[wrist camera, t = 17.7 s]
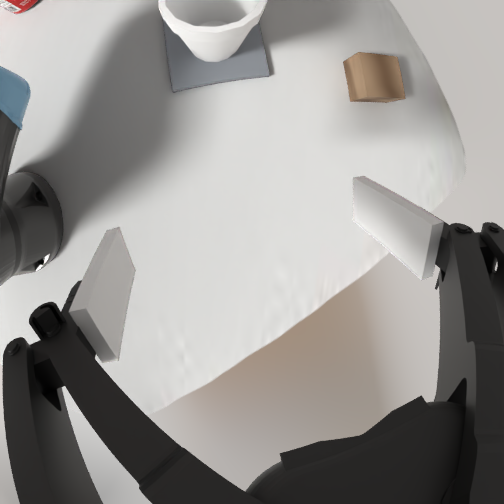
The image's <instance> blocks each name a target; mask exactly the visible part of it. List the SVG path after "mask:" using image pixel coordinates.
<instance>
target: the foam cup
mask: <svg viewBox="0 0 504 504" xmlns="http://www.w3.org/2000/svg"><path fill="white" fill-rule="evenodd" d="M267 1H268V0H159V10H160V13H161V15H162V17H163V19H164V21H165V22H166V23H167V24H168V26H169V27H170V28H171V30H172V31H173V32H174V33H176V34H178V35H179V36H180V38H181V39H182V40H183V41H184V43H185V44H186V45H187V46H188V48H189V49H190V50H191V52H192V53H193V54H194V55H195V57H197V58H199V59H201V60H203V61H206V62H219V61H222V60H225V59H228V58H229V57H230V56H231V55H233V54H234V53H235V52H236V51H237V50H238V48H239V46H240V45H241V43H242V42H243V40H244V39H245V37H246V36H247V34H248V33H249V32H250V30H251V29H252V27H254V26H255V25H256V24H258V21H259V19H260V17H261V15H262V13H263V11H264V9H265V7H266V4H267Z"/></svg>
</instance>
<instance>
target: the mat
mask: <svg viewBox="0 0 504 504" xmlns="http://www.w3.org/2000/svg"><path fill="white" fill-rule="evenodd" d="M163 25H164V33H165V41H166V49H167V56H168V63H169V70H170V77H171V84H172V90H173V92H177V91H182V90H186V89H191V88H196V87H201V86H206V85H212V84H217V83H223V82H230V81H236V80H244V79H252V78H260V77H269V75H270V74H269V69H268V64H267V59H266V54H265V49H264V44H263V40H262V35H261V30H260V26H259V21H258V24H256V25H255V26H254V27H252V29H251V30H250V32H249V33H248V34H247V36H246V37H245V39H244V40H243V42H242V43H241V45H240V46H239V48H238V50H237V51H236V52H235V53H234V54H233V55H231V56H230V57H229V58H228V59H225V60H222V61H219V62H206V61H203V60H201V59H199V58H197V57H195V55H194V54H193V53H192V52H191V50H190V49H189V48H188V46H187V45H186V44H185V43H184V41H183V40H182V39H181V38H180V36H179V35H178V34H176V33H174V32H173V31H172V30H171V28H170V27H169V26H168V24H167V23H166V22H165V21H164V19H163Z"/></svg>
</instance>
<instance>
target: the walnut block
mask: <svg viewBox="0 0 504 504" xmlns="http://www.w3.org/2000/svg"><path fill="white" fill-rule="evenodd" d="M343 63H344V68H345V74H346V79H347V84H348V90H349V96H350V102H385V103H387V102H392V101H396V100H401V99H405V93H404V87H403V82H402V77H401V72H400V67H399V62H398V58H397V57H394V56H388V55H380V54H372V53H362V52H358V53H356V54H355V55H353V56H351V57H350V58H348V59H347V60H345V61H344V62H343Z"/></svg>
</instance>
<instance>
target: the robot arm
mask: <svg viewBox="0 0 504 504" xmlns="http://www.w3.org/2000/svg"><path fill="white" fill-rule="evenodd" d="M29 99H30V87H29V84H28V83H27V81H26V80H25V79H23V78H22V77H20V76H19V75H17V74H15V73H13V72H11V71H9V70H7V69H5V68H3V67H1V66H0V286H1V285H2V284H3V283H4V282H6V281H7V280H8V279H9V278H10V277H12V276H15V275H21V274H26V273H32V272H36V271H38V270H40V269H42V268H43V267H44V266H46V265H47V264H48V263H49V262H50V261H52V259H53V258H54V257H55V256H56V254H57V252H58V250H59V248H60V245H61V241H62V235H63V219H62V213H61V208H60V205H59V202H58V199H57V197H56V195H55V193H54V191H53V190H52V188H51V187H50V185H49V184H48V183H47V182H46V181H45V180H44V179H43V178H42V177H40V176H39V175H37V174H35V173H31V172H19V173H15V174H11V175H9V176H8V172H9V167H10V163H11V159H12V156H13V152H14V148H15V145H16V141H17V138H18V135H19V132H20V130H22V121H23V117H24V114H25V111H26V108H27V105H28V102H29ZM353 221H354V222H355V223H356V224H357V225H359V226H360V227H361V228H362V229H364V230H365V231H366V232H367V233H368V234H370V235H371V236H372V237H373V238H374V239H375V240H377V241H378V242H379V243H380V244H381V245H382V246H384V247H385V248H386V249H387V250H388V251H389V252H390V253H392V254H393V255H394V256H395V257H396V258H397V259H398V260H399V261H401V262H402V263H403V264H404V265H405V266H406V267H407V268H408V269H409V270H411V271H412V272H413V273H414V274H415V275H416V276H417V277H418V278H419V279H420V280H424V279H426V278H429V277H431V276H433V272H434V268H435V264H436V265H437V266H438V267H439V268H440V272H439V276H438V279H437V283H436V287H435V289H437V288H438V286H439V290H440V291H439V293H440V353H439V369H438V382H437V391H436V396H435V399H434V402H428V403H426V402H425V400H424V399H423V397H422V396H420V397H418V398H416V399H414V400H413V401H411V402H409V403H407V404H405V405H403V406H401V407H399V408H397V409H396V410H393V411H392V412H390V414H388V415H387V416H386V417H385V418H383V419H382V420H381V421H380V422H378V423H377V424H376V425H375V426H373V427H372V428H371V429H369V430H368V431H367V432H366V433H364V434H362V435H360V436H355V437H348V438H343V439H335V440H328V441H320V442H316V443H313V444H310V445H307V446H304V447H301V448H297V449H294V450H290V451H287V452H283V453H280V456H281V462H279V463H277V464H275V465H273V466H272V467H270V468H269V469H267V470H266V471H265V472H263V473H262V474H261V475H260V476H258V477H257V478H256V479H255V481H253V482H252V484H251V485H250V486H249V488H248V489H247V490H246V492H245V491H243V490H241V489H240V488H238V487H237V486H235V485H234V484H232V483H231V482H229V481H228V480H226V479H225V478H223V477H222V476H221V475H219V474H218V473H216V472H215V471H213V470H212V469H211V468H209V467H208V466H207V465H205V464H204V463H203V462H201V461H200V460H199V459H197V458H196V457H195V456H194V455H192V454H191V453H190V452H188V451H187V450H186V449H185V448H182V447H181V446H180V445H179V444H177V443H176V442H175V441H174V440H173V439H172V438H170V437H169V436H168V435H167V434H166V433H165V432H164V431H162V430H161V429H160V428H159V427H158V426H157V425H156V424H155V423H154V422H153V421H152V420H151V419H150V418H149V417H147V416H146V415H145V414H144V413H143V412H142V411H141V410H140V409H139V408H138V407H137V406H136V405H135V404H134V403H133V401H132V400H131V399H130V398H129V397H128V396H127V395H126V394H125V393H124V392H123V391H122V390H121V389H120V388H119V387H118V385H117V384H116V383H115V382H114V381H113V380H112V379H111V378H110V376H109V375H108V374H107V373H106V372H105V371H104V369H103V368H102V367H101V366H100V365H99V363H98V362H97V361H96V360H95V355H96V354H97V356H98V357H99V359H100V360H101V361H102V363H107V362H114V361H119V356H120V349H121V343H122V337H123V331H124V325H125V319H126V314H127V309H128V304H129V299H130V294H131V289H132V284H133V280H134V275H135V271H136V270H135V267H134V265H133V262H132V260H131V257H130V254H129V252H128V249H127V246H126V244H125V241H124V238H123V235H122V233H121V230H120V227H117V228H114V229H110V230H107V231H106V233H105V235H104V237H103V239H102V241H101V243H100V244H99V246H98V248H97V250H96V252H95V254H94V256H93V258H92V260H91V263H90V265H89V267H88V269H87V271H86V273H85V275H84V277H83V280H81V281H78V282H77V283H76V284H75V285H74V287H73V288H72V289H71V291H70V293H69V295H68V298H67V300H66V303H65V304H64V307H63V309H62V311H61V312H60V310H59V308H58V306H57V305H56V304H55V303H54V302H47V303H44V304H42V305H41V306H39V307H38V308H37V309H35V310H34V312H33V313H32V314H31V316H30V318H29V324H30V325H31V327H32V328H33V330H34V331H35V333H36V334H37V335H38V337H39V338H40V341H38V342H35V343H33V344H31V345H29V344H28V343H27V341H26V340H25V339H24V338H23V337H19V338H16V339H14V340H13V341H11V342H10V343H9V344H8V345H7V347H6V349H5V350H4V354H3V406H4V407H3V408H4V421H5V430H6V440H7V446H8V453H9V459H10V464H11V469H12V474H13V479H14V483H15V487H16V491H17V494H18V498H19V502H20V504H103V503H102V501H101V499H100V496H99V495H98V492H97V490H96V488H95V486H94V484H93V482H92V479H91V477H90V474H89V472H88V470H87V467H86V465H85V462H84V459H83V457H82V454H81V452H80V449H79V446H78V443H77V440H76V437H75V434H74V431H73V428H72V425H71V421H70V418H69V415H68V411H67V407H66V404H65V400H64V396H63V392H62V387H63V386H66V388H67V390H68V391H69V393H70V395H71V396H72V398H73V400H74V401H75V403H76V404H77V406H78V407H79V409H80V410H81V412H82V413H83V415H84V416H85V418H86V419H87V420H88V422H89V423H90V425H91V426H92V428H93V429H94V430H95V432H96V433H97V434H98V436H99V437H100V438H101V440H102V441H103V442H104V443H105V445H106V446H107V447H108V449H109V450H110V451H111V452H112V454H113V455H114V456H115V457H116V458H117V459H118V461H119V462H120V463H121V464H122V465H123V466H124V467H125V469H126V470H127V471H128V472H129V473H130V474H131V475H132V477H133V478H134V479H135V480H136V481H137V482H138V484H139V489H140V490H141V492H142V493H143V494H144V495H145V497H146V498H147V499H148V500H149V501H150V502H151V503H152V504H504V230H503V229H502V228H501V227H500V226H498V225H497V224H495V223H489V222H487V223H484V224H483V227H482V230H481V232H480V233H479V232H478V233H474V231H473V230H472V229H471V228H470V227H468V226H466V225H464V224H460V223H454V224H451V225H448V224H447V223H445V222H444V221H442V220H441V219H439V218H438V217H436V216H434V215H433V214H431V213H429V212H428V211H426V210H425V209H423V208H421V207H419V206H417V205H416V204H414V203H412V202H410V201H409V200H407V199H405V198H404V197H402V196H400V195H398V194H396V193H395V192H393V191H391V190H389V189H387V188H386V187H384V186H382V185H380V184H378V183H376V182H374V181H372V180H371V179H369V178H367V177H365V176H360V177H354V178H353ZM496 262H498V267H497V271H495V266H496Z"/></svg>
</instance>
